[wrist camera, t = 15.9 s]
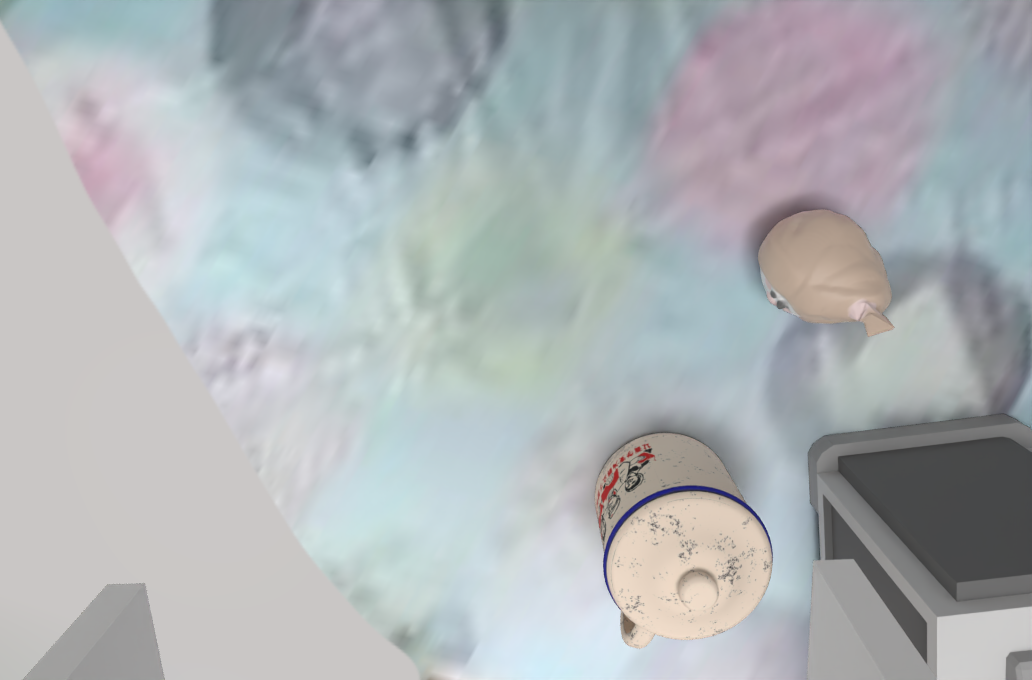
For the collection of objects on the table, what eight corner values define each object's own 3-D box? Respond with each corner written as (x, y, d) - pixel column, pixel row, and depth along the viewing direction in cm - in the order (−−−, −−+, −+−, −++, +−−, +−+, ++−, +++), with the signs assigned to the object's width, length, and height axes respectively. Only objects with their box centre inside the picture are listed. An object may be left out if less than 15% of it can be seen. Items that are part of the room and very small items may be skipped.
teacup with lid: (621, 407, 50) (650, 490, 39) (755, 453, 51) (822, 548, 40) (554, 569, 54) (563, 690, 42) (681, 610, 54) (724, 739, 43)
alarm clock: (1012, 663, 55) (1244, 920, 38) (817, 685, 56) (956, 948, 38) (1020, 411, 51) (1290, 569, 33) (807, 437, 51) (959, 606, 33)
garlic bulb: (753, 322, 49) (797, 360, 41) (738, 217, 47) (781, 237, 40) (863, 299, 49) (928, 333, 41) (852, 193, 47) (918, 208, 39)
